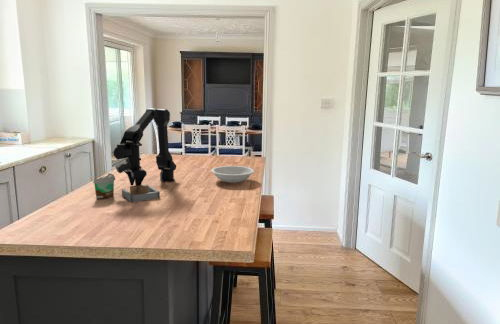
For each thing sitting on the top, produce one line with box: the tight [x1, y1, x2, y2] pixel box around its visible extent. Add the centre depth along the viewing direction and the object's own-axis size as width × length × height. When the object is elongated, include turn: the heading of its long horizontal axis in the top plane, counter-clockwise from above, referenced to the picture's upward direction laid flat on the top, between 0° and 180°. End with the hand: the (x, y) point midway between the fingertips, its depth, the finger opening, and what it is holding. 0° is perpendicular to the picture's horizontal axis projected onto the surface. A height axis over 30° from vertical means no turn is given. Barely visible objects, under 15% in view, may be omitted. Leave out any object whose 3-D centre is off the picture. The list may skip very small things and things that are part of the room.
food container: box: [93, 172, 116, 200], centre depth 171 cm, size 12×6×10 cm, turn 168°
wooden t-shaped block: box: [129, 183, 149, 195], centre depth 172 cm, size 8×8×5 cm
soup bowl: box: [211, 165, 255, 184], centre depth 205 cm, size 24×24×7 cm
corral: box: [121, 184, 161, 203], centre depth 173 cm, size 13×14×3 cm
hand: (134, 187), depth 180 cm, fingers open, 8 cm apart
